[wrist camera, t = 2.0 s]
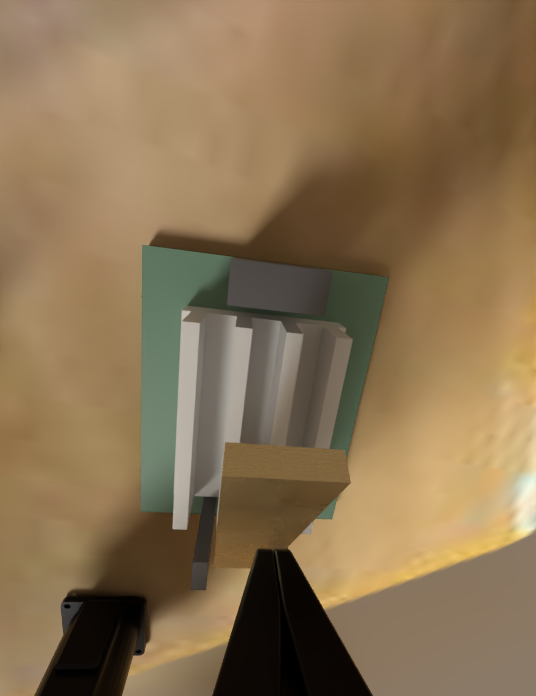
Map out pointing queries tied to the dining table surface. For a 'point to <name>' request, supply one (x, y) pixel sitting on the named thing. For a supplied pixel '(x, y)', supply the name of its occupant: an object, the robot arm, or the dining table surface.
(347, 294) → the heatsink board
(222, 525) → the wooden plank
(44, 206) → the dining table surface
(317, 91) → the dining table surface
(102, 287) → the dining table surface
